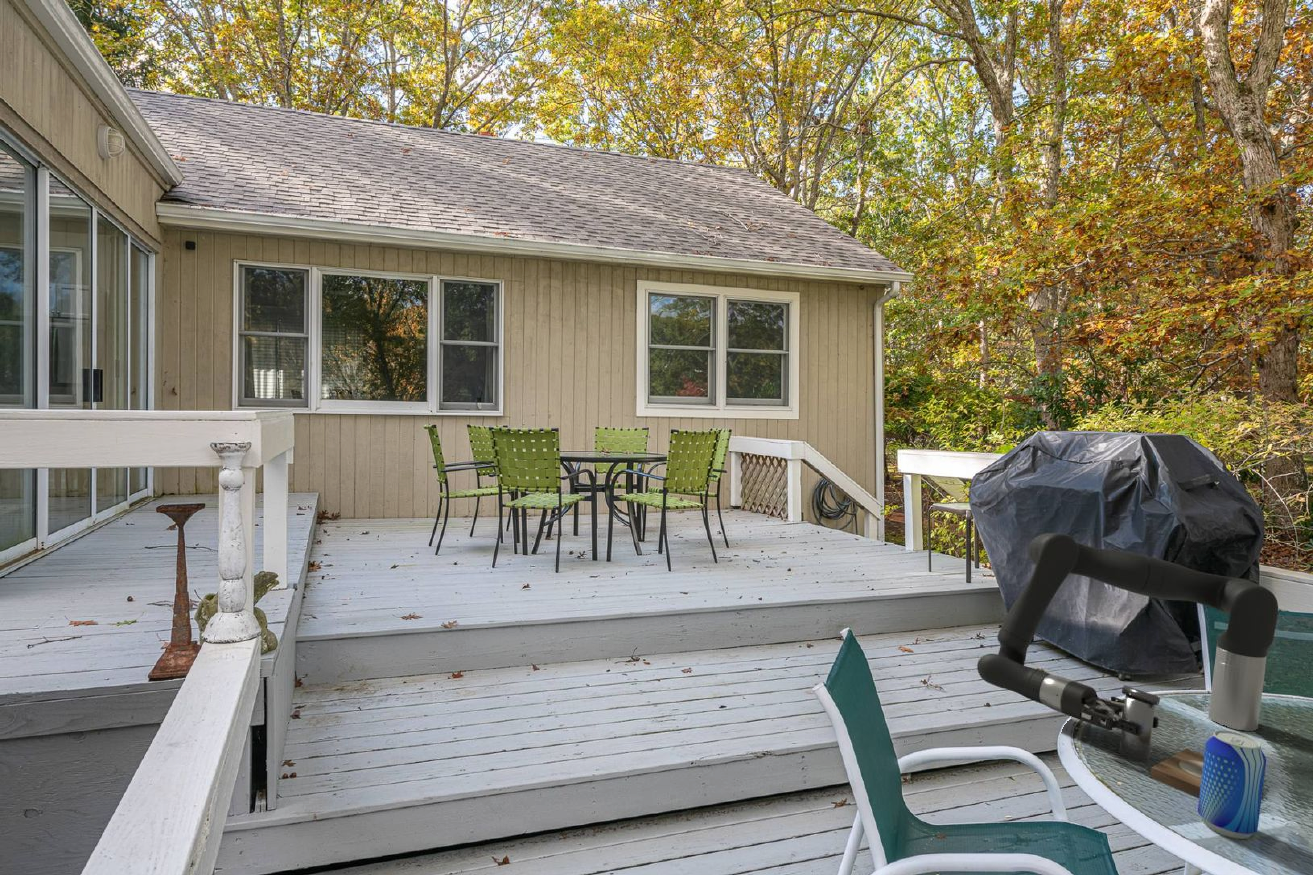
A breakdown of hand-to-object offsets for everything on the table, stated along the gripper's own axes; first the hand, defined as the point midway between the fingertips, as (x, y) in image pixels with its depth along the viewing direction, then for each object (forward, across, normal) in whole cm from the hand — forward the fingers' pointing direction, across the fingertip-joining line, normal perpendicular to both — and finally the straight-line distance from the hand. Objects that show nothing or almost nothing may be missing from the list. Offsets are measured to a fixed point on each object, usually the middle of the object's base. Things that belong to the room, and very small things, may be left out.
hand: (1149, 727), depth 157 cm
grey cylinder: (-2, 0, +7) cm, 7 cm away
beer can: (+19, -14, +7) cm, 24 cm away
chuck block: (+10, +1, +7) cm, 12 cm away
